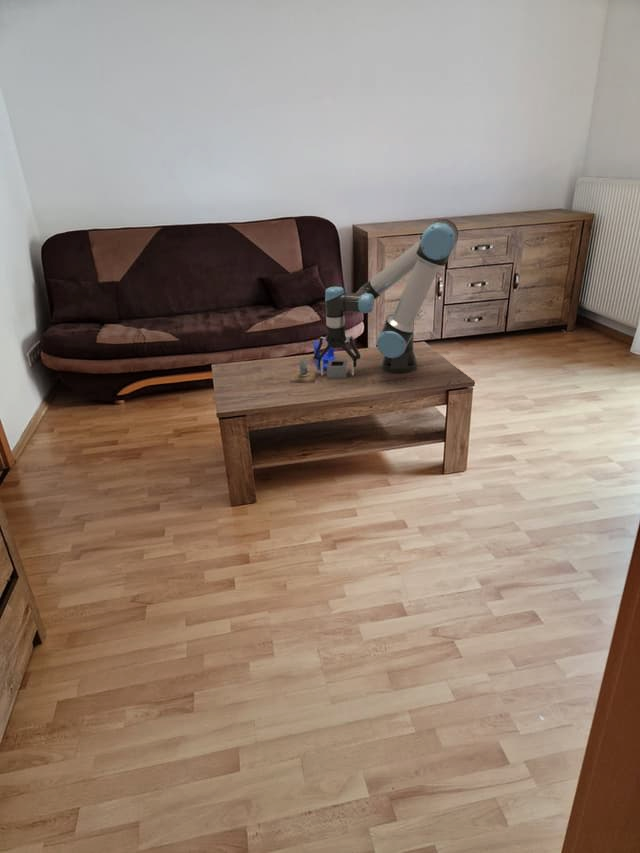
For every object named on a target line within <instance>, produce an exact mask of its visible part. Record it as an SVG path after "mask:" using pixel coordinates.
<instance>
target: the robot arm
mask: <svg viewBox="0 0 640 853" xmlns="http://www.w3.org/2000/svg"><path fill="white" fill-rule="evenodd" d="M458 240H459V228H458V227H457V225H456V223H454V222H453V221H452V220H449V219H444V218H441V219H437V220H435V221H434V222H433V223H431V225H429V226H427V228H426V229H425V230H424V232H423V233H422V234H421V235H420V236H419V237H418V241H417V242H416V243H415V244H413V245H412V246H410V248H408V249H407V250H405V252H403V253H402V254H401V255H400V256H398V257H397V258H396V259H394V260H393V261H392V262H391V263H390V264H388V265H387V266H386V267H384V268H383V269H382V270H381V271H380V272H379V273H377V274H376V275H375V276H373V277H372V278H371V279H370V280H369V281H368V282H366V283H365V284H362V286H361V287H360V288H359V289H358V290H357V291H356V292H355V293H354V292H352V293H351V292H349V293H348V292H345V290H344V288H343V287H342V286H330V287H328V288H326V289H325V292H324V294H325V296H324V297H325V298H324V301H325V319H326V321H325V322H326V337H324V336H320V337H319V346H318V348H317V350H316V353H315V355H313V359H314V360H315V359H317V360H318V367H321V371H320V375H321V376H324V374H325V371H324V368H323V359H322V357H323V356H324V355H325V353H328V350H329V349H330V347H333V348H334V349H336V348H337V349H340V348H342V349H343V350H344V351H345V353H347V355H349V357H350V358H351V376H354V374H355V368H357V365H358V364H357V361H358V360H360V359H361V354H360V352H359V350H358V348H357V346H356V344H355V342H354V337H353V335H350V336H348V337H347V336H346V326H345V324H346V322H345V321H346V320H345V313H357V314H360V313H361V314H367V313H372V312H373V311H374V308H375V300H377V299H378V298H379V297H380V296H382V295H383V294H384V293H386V292H387V291H388V290H389V289H391V288H392V287H393V286H395V285H396V284H397V283H398V282H400V281H401V280H402V279H404V277H406V276H407V275H409V274H410V273H411V274H410V276H409V278H408V281H407V282H406V285H405V287H404V290H403V292H402V293H401V296H400V298H399V300H398V303H397V305H396V308H395V309H394V312H393V314H392V313H391V314H388V315H386V317H385V323H384V325H383V328H382V330H381V332H380V334H378V336H377V339H376V347H377V350H378V351H379V353H380V354H381V355H382V356H383V358H382V361H381V368H382V370H384V371H386V372H387V373H392V374H393V373H394V374H395V373H396V374H403V373H410V372H413V371H414V370H416V369H417V368H418V361H417V358H416V357H417V356H416V354H415V352H414V339H415V338H414V331H415V320H416V319H417V316H418V314H419V313H420V310H421V308H422V306H423V303H424V302H425V299H426V297H427V296H428V295H427V294H428V293H429V291H430V288H431V287H432V284H433V282H434V280H435V277H436V275H437V273H438V271H439V269H441V268H443V267H445V266H446V264H447V262H448V259H449V258H450V256H451V253H452V252H453V250H454V248H455V245H456V244H457V241H458ZM325 341H326V342H328V345H327V344H326V347H325V348H324V349H323V350H322V351H321V348H322V346H323V343H325ZM346 341H347V342H348V343H349V344H350V347H351V348H352V350H353V351H352V350H351V349H350V347H348V345H347V344H346ZM319 351H320V356H317V355H318V353H319Z"/></svg>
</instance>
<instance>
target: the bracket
mask: <svg viewBox="0 0 640 853" xmlns="http://www.w3.org/2000/svg"><path fill="white" fill-rule="evenodd" d="M319 342H320V340H318V341H313V353H314V355H315V353H316V350H317V348H318V346H319ZM326 342H327V341H326ZM327 345H328V342H327V343H326V346H327ZM334 350H335V348H333V347H330V349H329V350H328V351H327V352H326V353H325V355H324V356H323V357H322V359H323V368H324V372H327V365H328V362H329V360H335V351H334ZM320 354H321V350H320V351H319V353H318V355H317V356H320ZM314 355H313V356H314ZM314 361H315V364H316V369H317V370H318V371H320V372H321V367H318V360H317V359H314Z"/></svg>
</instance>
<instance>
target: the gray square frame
mask: <svg viewBox="0 0 640 853" xmlns="http://www.w3.org/2000/svg"><path fill="white" fill-rule="evenodd" d="M326 365H327V371H326V375H327V379H347V377H348V372H349V360H347V359H346V360H345V359H343V360H342V359H338V360H337V359H336V360H329V362H328V364H326Z"/></svg>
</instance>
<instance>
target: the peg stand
mask: <svg viewBox="0 0 640 853" xmlns="http://www.w3.org/2000/svg"><path fill="white" fill-rule="evenodd" d="M298 361H299V370H295V371H293V373H292V376H291V377H290V384H291V383H292V384H293V383H295V384H297V383H298V384H299V383H300V384H303V383H305V384H306V383H307V384H313V383H315V381H316V379H317V377H318V371H317V370H308V363H307V358H300V359H299V360H298Z"/></svg>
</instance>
